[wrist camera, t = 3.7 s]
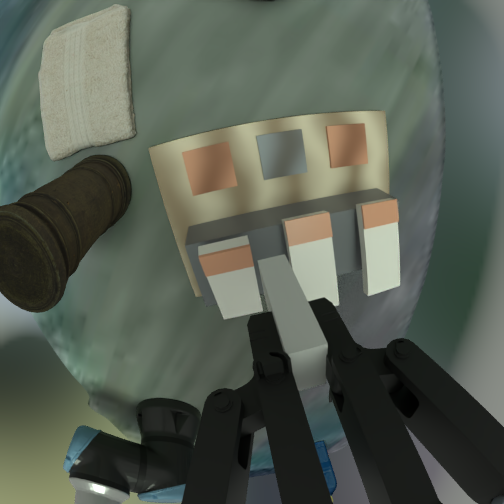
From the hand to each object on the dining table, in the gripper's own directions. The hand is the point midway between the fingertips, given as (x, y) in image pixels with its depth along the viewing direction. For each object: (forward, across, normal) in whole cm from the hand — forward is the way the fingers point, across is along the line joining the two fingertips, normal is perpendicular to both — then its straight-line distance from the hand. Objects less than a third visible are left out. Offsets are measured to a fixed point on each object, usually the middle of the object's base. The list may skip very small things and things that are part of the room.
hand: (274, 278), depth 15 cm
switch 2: (+11, +13, -7) cm, 19 cm away
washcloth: (+19, -15, +19) cm, 31 cm away
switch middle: (+11, +5, -7) cm, 14 cm away
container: (+19, -17, +5) cm, 26 cm away
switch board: (+19, +5, -2) cm, 19 cm away
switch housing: (+17, +5, -6) cm, 19 cm away
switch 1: (+11, -3, -6) cm, 13 cm away
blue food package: (+19, +7, -92) cm, 95 cm away
